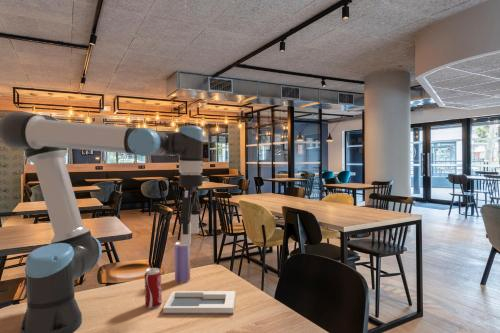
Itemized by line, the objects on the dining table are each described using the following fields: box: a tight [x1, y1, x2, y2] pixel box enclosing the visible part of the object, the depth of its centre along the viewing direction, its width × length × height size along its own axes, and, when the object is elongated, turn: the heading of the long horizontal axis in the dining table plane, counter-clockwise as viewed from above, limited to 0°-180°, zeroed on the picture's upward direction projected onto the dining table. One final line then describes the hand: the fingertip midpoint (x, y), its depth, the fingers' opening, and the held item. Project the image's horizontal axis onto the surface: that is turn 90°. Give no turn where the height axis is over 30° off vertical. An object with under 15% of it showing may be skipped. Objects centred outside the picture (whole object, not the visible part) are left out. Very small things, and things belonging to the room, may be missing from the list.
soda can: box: [144, 267, 163, 310], centre depth 105 cm, size 5×5×12 cm
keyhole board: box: [162, 290, 236, 316], centre depth 105 cm, size 22×12×2 cm, turn 89°
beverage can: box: [173, 241, 191, 284], centre depth 126 cm, size 6×6×15 cm
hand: (190, 238), depth 104 cm, fingers open, 13 cm apart
